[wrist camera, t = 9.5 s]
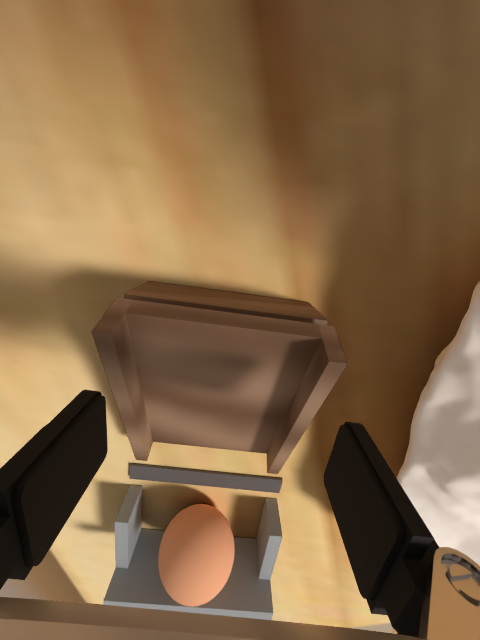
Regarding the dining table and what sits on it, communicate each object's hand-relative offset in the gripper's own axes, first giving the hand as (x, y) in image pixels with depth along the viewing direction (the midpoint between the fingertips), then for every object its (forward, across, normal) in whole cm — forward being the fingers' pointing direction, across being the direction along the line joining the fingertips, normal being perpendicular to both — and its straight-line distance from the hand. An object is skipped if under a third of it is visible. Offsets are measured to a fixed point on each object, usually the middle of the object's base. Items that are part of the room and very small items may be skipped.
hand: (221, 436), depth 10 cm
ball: (+5, 0, +17) cm, 17 cm away
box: (+8, 0, +16) cm, 18 cm away
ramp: (+8, 0, +2) cm, 9 cm away
